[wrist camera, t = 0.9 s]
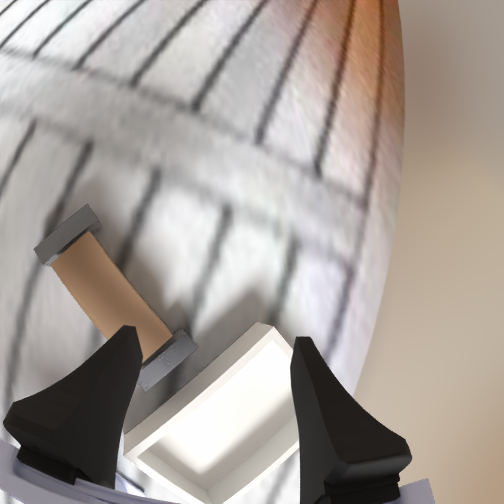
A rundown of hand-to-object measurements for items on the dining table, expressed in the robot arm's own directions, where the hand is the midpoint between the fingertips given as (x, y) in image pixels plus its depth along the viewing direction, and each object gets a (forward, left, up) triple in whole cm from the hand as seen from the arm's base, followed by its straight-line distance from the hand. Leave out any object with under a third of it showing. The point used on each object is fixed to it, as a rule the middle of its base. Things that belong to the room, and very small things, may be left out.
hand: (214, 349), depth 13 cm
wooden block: (-3, +5, -14) cm, 16 cm away
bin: (-3, -11, -14) cm, 18 cm away
